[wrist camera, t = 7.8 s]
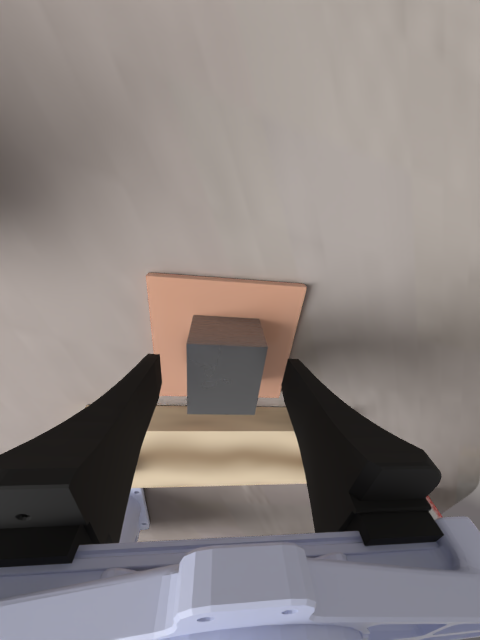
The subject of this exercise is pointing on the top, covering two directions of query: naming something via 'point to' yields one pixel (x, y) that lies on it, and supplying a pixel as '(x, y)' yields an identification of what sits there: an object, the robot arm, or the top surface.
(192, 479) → the hand plane
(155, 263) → the top surface
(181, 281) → the terracotta tile
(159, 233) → the top surface
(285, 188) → the top surface
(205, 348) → the gray rectangular block
